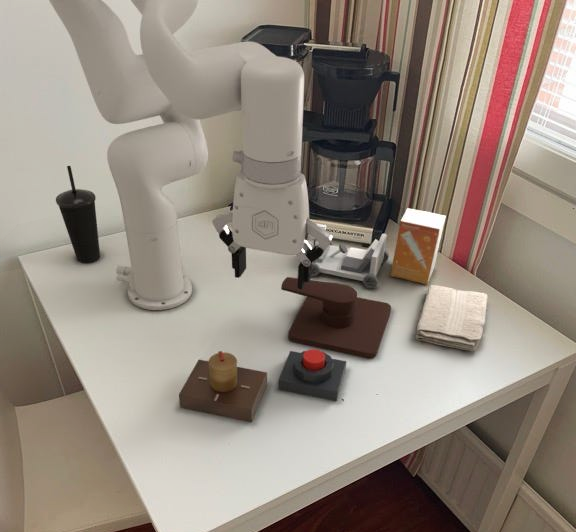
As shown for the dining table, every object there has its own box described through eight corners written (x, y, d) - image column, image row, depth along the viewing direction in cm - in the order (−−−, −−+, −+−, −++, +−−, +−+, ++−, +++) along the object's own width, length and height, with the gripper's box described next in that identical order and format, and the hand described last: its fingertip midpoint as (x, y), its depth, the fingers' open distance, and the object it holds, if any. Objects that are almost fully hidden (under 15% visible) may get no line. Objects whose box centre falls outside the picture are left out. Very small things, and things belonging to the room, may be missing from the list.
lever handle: (295, 258, 119) (397, 277, 115) (294, 290, 124) (391, 309, 120) (268, 304, 108) (380, 327, 103) (268, 337, 112) (374, 360, 108)
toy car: (294, 230, 122) (311, 206, 130) (292, 272, 129) (309, 247, 137) (382, 247, 118) (394, 221, 127) (376, 290, 125) (387, 262, 133)
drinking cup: (78, 246, 134) (58, 157, 121) (111, 250, 134) (95, 160, 120) (64, 265, 129) (41, 172, 115) (99, 268, 128) (80, 176, 115)
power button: (300, 368, 101) (301, 360, 99) (305, 355, 103) (306, 347, 102) (321, 372, 100) (322, 364, 99) (326, 359, 103) (327, 351, 101)
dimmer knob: (240, 389, 97) (239, 366, 94) (212, 394, 96) (211, 370, 93) (234, 372, 100) (233, 348, 97) (208, 376, 99) (206, 353, 96)
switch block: (278, 389, 102) (278, 371, 99) (289, 360, 108) (290, 342, 105) (336, 401, 100) (338, 383, 98) (345, 370, 106) (347, 352, 103)
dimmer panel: (180, 408, 98) (178, 393, 96) (199, 372, 105) (198, 358, 103) (251, 422, 96) (251, 408, 94) (267, 385, 103) (267, 371, 101)
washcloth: (413, 342, 113) (416, 329, 110) (426, 291, 125) (428, 278, 123) (478, 356, 110) (483, 342, 108) (485, 302, 123) (489, 289, 121)
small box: (390, 277, 129) (399, 220, 120) (397, 262, 133) (406, 206, 124) (427, 285, 127) (440, 228, 118) (434, 270, 131) (446, 214, 122)
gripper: (198, 167, 78) (207, 281, 90) (329, 187, 75) (321, 303, 86) (220, 146, 83) (225, 256, 95) (343, 163, 80) (333, 276, 91)
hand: (271, 278), depth 90 cm, fingers open, 9 cm apart
